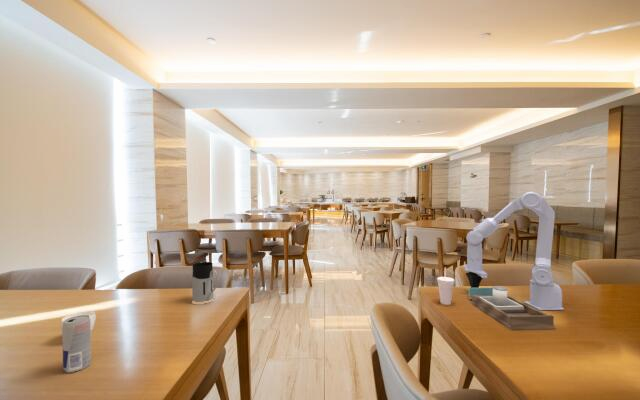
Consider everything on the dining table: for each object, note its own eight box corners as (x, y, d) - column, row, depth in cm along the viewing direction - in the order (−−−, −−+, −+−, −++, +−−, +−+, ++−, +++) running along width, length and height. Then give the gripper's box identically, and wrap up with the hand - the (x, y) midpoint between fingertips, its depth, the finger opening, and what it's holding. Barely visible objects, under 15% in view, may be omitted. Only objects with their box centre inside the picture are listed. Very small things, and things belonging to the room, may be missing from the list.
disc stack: (502, 301, 109) (502, 285, 109) (510, 306, 105) (510, 289, 104) (490, 301, 109) (490, 285, 109) (497, 306, 105) (497, 289, 104)
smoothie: (451, 300, 116) (451, 266, 116) (457, 306, 110) (457, 270, 110) (434, 300, 117) (434, 265, 117) (439, 306, 111) (439, 269, 110)
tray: (468, 296, 118) (468, 287, 118) (494, 295, 118) (494, 287, 118) (495, 312, 101) (495, 303, 101) (525, 312, 101) (525, 302, 101)
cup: (54, 345, 82) (53, 321, 82) (82, 329, 92) (82, 308, 92) (81, 345, 82) (81, 321, 82) (107, 328, 92) (106, 308, 92)
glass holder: (206, 295, 123) (206, 260, 123) (227, 302, 115) (226, 265, 115) (186, 301, 116) (186, 264, 116) (207, 309, 108) (206, 269, 107)
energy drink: (74, 361, 74) (73, 315, 74) (96, 360, 75) (95, 314, 74) (56, 374, 69) (56, 324, 69) (80, 372, 69) (80, 323, 69)
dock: (471, 303, 113) (471, 293, 113) (507, 303, 113) (507, 292, 113) (510, 329, 91) (510, 317, 91) (554, 328, 91) (555, 316, 91)
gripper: (456, 255, 130) (456, 285, 130) (475, 262, 115) (475, 296, 116) (471, 255, 130) (471, 284, 130) (492, 262, 116) (492, 296, 116)
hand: (474, 290), depth 123 cm, fingers closed
